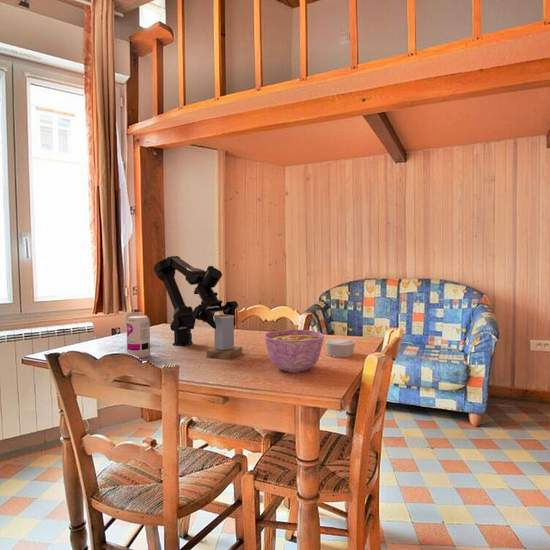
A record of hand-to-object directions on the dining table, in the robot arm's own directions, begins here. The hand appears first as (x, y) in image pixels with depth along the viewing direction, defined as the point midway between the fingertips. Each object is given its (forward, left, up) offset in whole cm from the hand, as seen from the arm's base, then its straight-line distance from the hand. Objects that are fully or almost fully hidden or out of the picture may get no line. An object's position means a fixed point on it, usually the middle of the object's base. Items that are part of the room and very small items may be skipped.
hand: (225, 326), depth 169 cm
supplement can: (-31, -12, -11) cm, 35 cm away
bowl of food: (+30, -10, -11) cm, 34 cm away
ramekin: (+40, +15, -11) cm, 45 cm away
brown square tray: (-1, 0, -11) cm, 11 cm away
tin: (-1, 0, -8) cm, 8 cm away
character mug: (-48, +7, -11) cm, 49 cm away
